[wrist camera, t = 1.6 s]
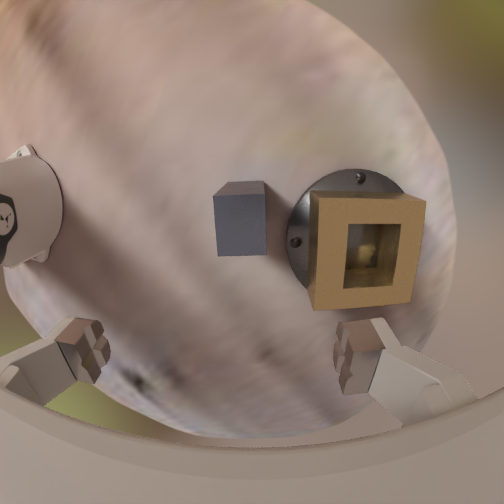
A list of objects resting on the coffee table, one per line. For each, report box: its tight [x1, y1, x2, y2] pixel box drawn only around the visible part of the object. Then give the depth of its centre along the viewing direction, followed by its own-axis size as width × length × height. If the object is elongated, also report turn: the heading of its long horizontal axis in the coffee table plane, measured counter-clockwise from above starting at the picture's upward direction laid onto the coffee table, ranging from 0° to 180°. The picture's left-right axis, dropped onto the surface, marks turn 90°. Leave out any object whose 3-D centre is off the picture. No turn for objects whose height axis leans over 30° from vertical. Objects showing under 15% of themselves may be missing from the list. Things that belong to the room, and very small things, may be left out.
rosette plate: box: [286, 169, 426, 311], centre depth 29 cm, size 17×17×6 cm
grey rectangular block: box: [213, 181, 267, 256], centre depth 26 cm, size 4×5×10 cm
